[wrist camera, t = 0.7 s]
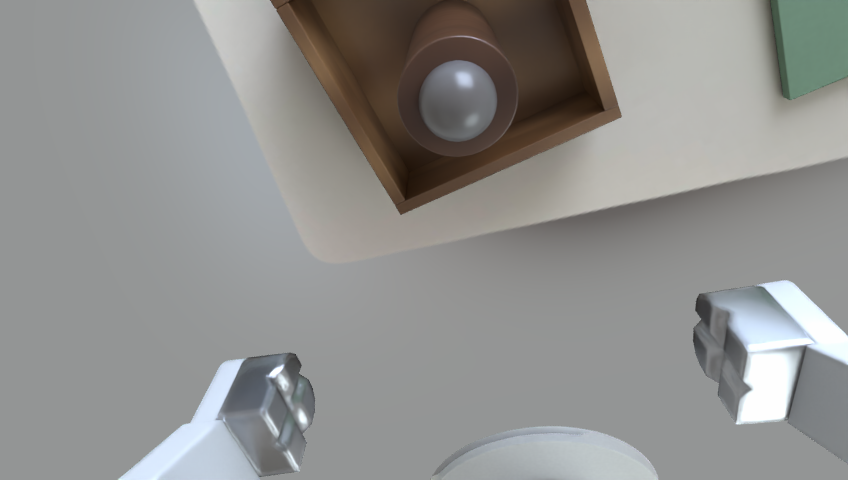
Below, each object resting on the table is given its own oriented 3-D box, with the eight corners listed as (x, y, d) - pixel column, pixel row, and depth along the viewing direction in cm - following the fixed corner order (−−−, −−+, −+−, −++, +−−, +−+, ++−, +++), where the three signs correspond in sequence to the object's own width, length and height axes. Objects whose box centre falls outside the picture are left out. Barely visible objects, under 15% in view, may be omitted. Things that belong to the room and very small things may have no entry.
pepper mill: (504, 62, 31) (544, 141, 19) (434, 97, 33) (429, 193, 20) (472, -17, 29) (494, 17, 17) (397, 24, 30) (368, 84, 18)
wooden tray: (598, 93, 33) (622, 117, 28) (405, 182, 37) (400, 215, 32) (517, -155, 26) (532, -173, 22) (291, -15, 30) (266, -6, 26)
